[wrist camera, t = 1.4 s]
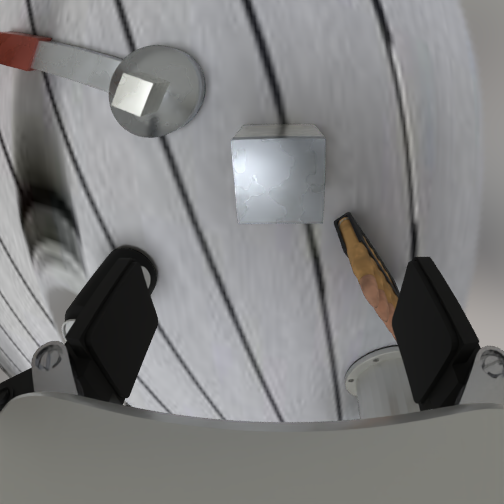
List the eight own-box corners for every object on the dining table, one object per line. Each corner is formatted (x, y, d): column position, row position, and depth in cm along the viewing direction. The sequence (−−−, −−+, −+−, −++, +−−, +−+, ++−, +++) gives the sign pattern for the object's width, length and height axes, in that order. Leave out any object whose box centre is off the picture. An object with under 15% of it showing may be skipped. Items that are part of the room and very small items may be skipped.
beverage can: (113, 235, 32) (55, 305, 21) (164, 259, 33) (122, 339, 22) (106, 277, 35) (59, 346, 25) (152, 298, 36) (115, 375, 26)
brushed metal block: (313, 124, 24) (325, 139, 18) (313, 189, 27) (322, 223, 21) (243, 125, 24) (231, 140, 18) (247, 189, 28) (237, 223, 22)
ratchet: (221, 65, 22) (204, 61, 17) (183, 145, 26) (159, 163, 21) (17, 14, 17) (-19, 15, 12) (-2, 76, 21) (-37, 84, 16)
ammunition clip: (332, 221, 29) (357, 306, 18) (348, 211, 28) (382, 291, 18) (381, 289, 32) (409, 374, 22) (394, 281, 32) (427, 365, 21)
